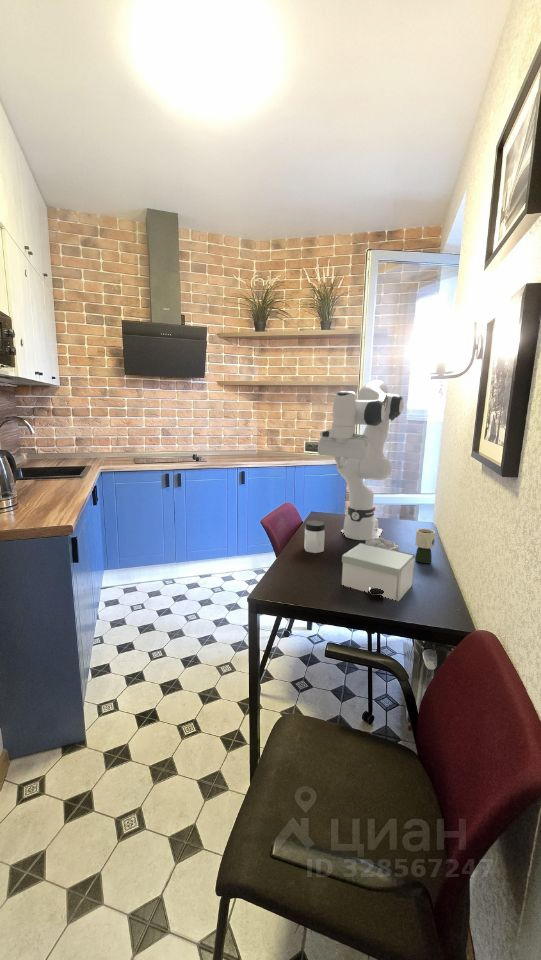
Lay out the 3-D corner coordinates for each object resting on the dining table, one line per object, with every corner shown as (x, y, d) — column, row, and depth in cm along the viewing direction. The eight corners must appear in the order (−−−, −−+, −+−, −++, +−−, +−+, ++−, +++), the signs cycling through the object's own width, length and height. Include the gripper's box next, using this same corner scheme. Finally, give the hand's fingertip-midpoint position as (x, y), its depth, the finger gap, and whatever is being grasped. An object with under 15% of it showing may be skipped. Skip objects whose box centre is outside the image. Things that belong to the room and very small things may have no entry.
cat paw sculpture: (364, 555, 173) (365, 535, 171) (396, 558, 170) (398, 538, 168) (364, 564, 163) (365, 543, 161) (398, 568, 160) (400, 546, 158)
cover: (359, 549, 153) (359, 543, 153) (412, 562, 142) (413, 555, 142) (341, 562, 141) (342, 555, 140) (398, 576, 130) (399, 569, 129)
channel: (358, 571, 156) (360, 542, 154) (412, 585, 145) (415, 554, 143) (341, 584, 144) (343, 553, 142) (398, 601, 133) (401, 567, 130)
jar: (311, 554, 172) (312, 527, 170) (299, 548, 179) (300, 522, 177) (328, 550, 177) (329, 523, 175) (315, 545, 184) (317, 519, 182)
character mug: (434, 567, 161) (437, 536, 158) (415, 566, 162) (418, 534, 160) (430, 557, 171) (433, 527, 169) (412, 556, 172) (414, 526, 170)
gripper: (371, 434, 157) (369, 470, 159) (324, 431, 168) (322, 465, 171) (365, 435, 152) (363, 472, 154) (316, 432, 163) (315, 466, 166)
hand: (341, 468), depth 163 cm, fingers closed
